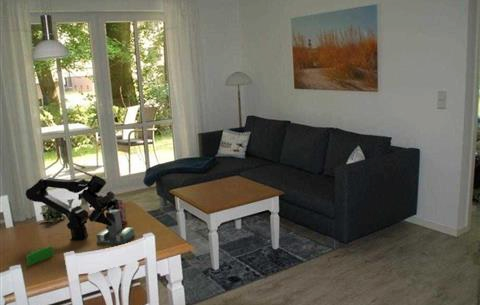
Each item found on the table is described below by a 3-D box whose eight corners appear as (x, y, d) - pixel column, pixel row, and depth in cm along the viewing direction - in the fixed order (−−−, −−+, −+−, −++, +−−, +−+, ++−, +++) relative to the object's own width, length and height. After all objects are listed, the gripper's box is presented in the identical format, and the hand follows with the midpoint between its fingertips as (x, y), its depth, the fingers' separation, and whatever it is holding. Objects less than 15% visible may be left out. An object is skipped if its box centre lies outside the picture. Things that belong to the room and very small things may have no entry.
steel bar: (109, 239, 201) (105, 213, 199) (114, 234, 206) (111, 209, 203) (117, 239, 200) (114, 213, 197) (122, 235, 205) (119, 209, 202)
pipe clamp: (48, 254, 191) (47, 244, 190) (53, 256, 189) (52, 246, 188) (24, 264, 182) (22, 254, 181) (29, 266, 180) (27, 256, 179)
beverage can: (126, 219, 230) (123, 198, 228) (127, 224, 223) (124, 202, 220) (111, 222, 228) (108, 200, 225) (111, 226, 220) (108, 204, 218)
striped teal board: (97, 243, 200) (95, 232, 199) (109, 234, 210) (108, 223, 209) (123, 244, 196) (122, 233, 195) (134, 235, 207) (133, 224, 205)
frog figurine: (29, 225, 233) (25, 204, 230) (54, 214, 249) (51, 195, 247) (53, 227, 226) (49, 207, 223) (78, 216, 242) (75, 197, 239)
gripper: (90, 193, 190) (115, 217, 190) (112, 182, 208) (135, 204, 207) (78, 210, 194) (102, 233, 193) (100, 197, 211) (123, 219, 211)
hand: (116, 221), depth 201 cm, fingers open, 9 cm apart
